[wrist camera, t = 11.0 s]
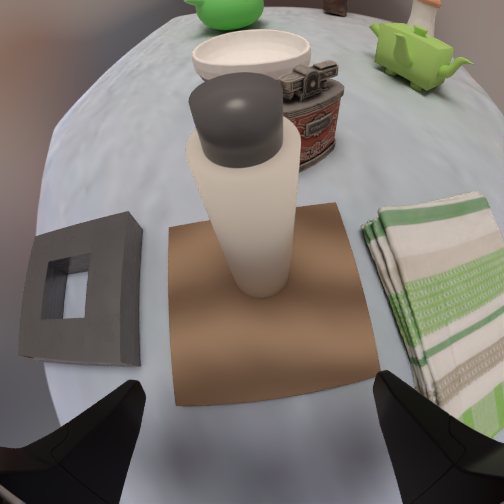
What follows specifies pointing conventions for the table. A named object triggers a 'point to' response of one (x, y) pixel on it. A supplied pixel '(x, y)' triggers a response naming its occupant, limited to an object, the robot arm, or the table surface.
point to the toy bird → (228, 12)
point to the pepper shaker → (424, 14)
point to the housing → (97, 296)
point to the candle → (335, 6)
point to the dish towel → (447, 301)
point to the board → (267, 318)
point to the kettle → (414, 55)
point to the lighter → (313, 108)
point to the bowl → (251, 53)
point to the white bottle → (247, 175)
